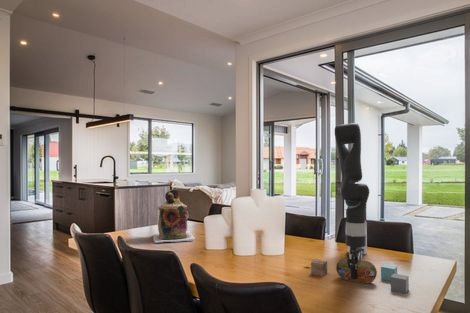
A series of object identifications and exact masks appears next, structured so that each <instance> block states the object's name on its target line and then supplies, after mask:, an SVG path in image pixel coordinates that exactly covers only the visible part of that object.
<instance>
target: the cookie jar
mask: <svg viewBox="0 0 470 313" xmlns="http://www.w3.org/2000/svg"><path fill="white" fill-rule="evenodd" d="M179 189H180V187H177V188H176V189H175V188H174V189H170V190H168V191H167V192H166V193H165V196H164V197H165V200H166V201H165V202H164V203H163V204H161V205H159V206H157V209H158V211H159V212H158V213H159V214H158V215H159V216H158V221H157V222H158V224H157V228H158V229H157V230H158V233H152V238H153V243H154V244H158V243H160V244H161V243H165V242H166V243H167V242H168V243H169V242H171V243H174V242H175V243H177V242H192V241H194V240H195V238H196V237H194V235H193V234H192V233H191V231H190V230H188V219H189V216H190V215H189V211H188V210H187V209H188V206H187V205H186V204H184V203H183V202H182V201H181V200H180V195H181V194H180V192H179Z"/></svg>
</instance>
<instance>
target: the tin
mask: <svg viewBox="0 0 470 313" xmlns="http://www.w3.org/2000/svg"><path fill="white" fill-rule="evenodd" d="M355 261H357V260H355ZM352 265H353V264H352ZM335 267H336V268H335V270H336V273H337V274H338V276H339V277H340V278H341V279H343V280H345V281H350V282H356V283H361V284H371V283H373V282H374V281H375V280H376V278H377V274H378V271H377V268H376V266H375V265H374V263H372V262H371V261H368V260H364V259H363V260H359V263H358V264H357V279H352V278H351V269H350V268H348V260H347V257H345V258H342V259H340V260H339V261H338V262H337V263H336V266H335Z"/></svg>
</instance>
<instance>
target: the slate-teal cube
mask: <svg viewBox="0 0 470 313" xmlns="http://www.w3.org/2000/svg"><path fill="white" fill-rule="evenodd" d="M393 274H398V266H397V265H394V264H387V263H383V264H382V265H381V266H380V279H381V280H385V281H389V282H391V276H392V275H393Z"/></svg>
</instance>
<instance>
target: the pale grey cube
mask: <svg viewBox="0 0 470 313" xmlns="http://www.w3.org/2000/svg"><path fill="white" fill-rule="evenodd" d="M409 283H410V282H409V275H405V274H399V273H397V274H393V275H392V276H391V281H390V291H391V292H396V293H400V294H404V295H405V294H407V293H408V292H409V288H410V286H409V285H410V284H409Z"/></svg>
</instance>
